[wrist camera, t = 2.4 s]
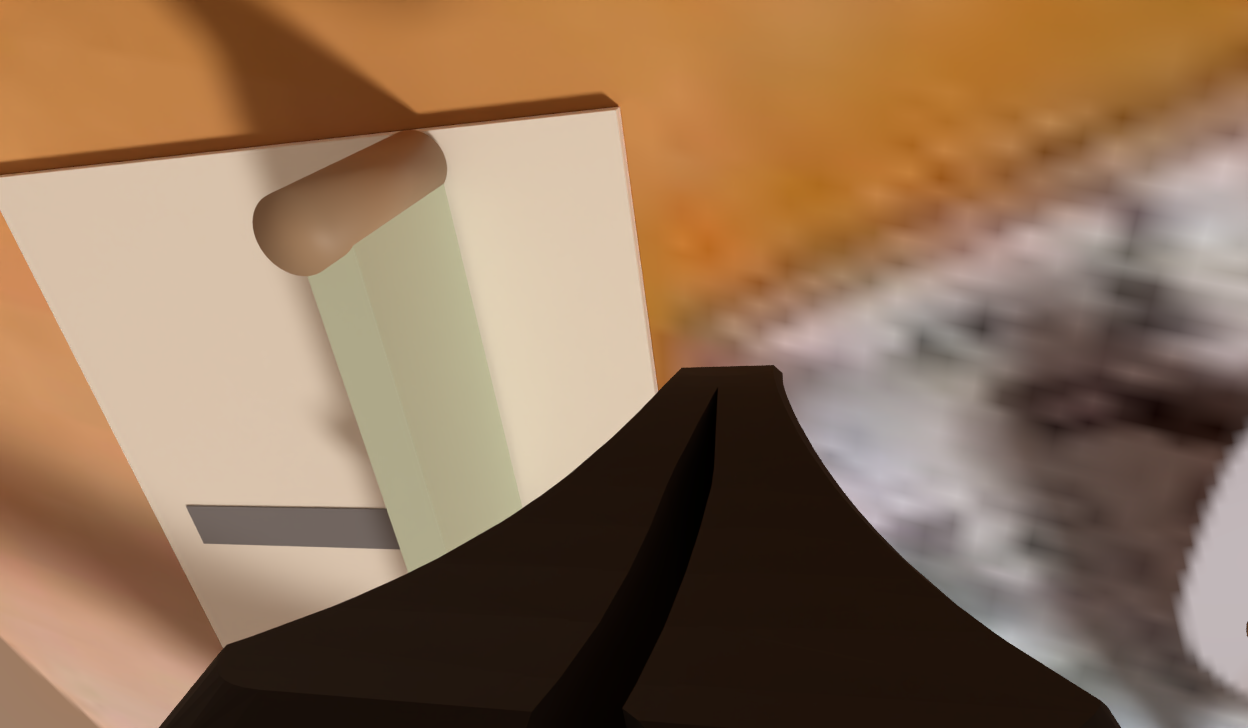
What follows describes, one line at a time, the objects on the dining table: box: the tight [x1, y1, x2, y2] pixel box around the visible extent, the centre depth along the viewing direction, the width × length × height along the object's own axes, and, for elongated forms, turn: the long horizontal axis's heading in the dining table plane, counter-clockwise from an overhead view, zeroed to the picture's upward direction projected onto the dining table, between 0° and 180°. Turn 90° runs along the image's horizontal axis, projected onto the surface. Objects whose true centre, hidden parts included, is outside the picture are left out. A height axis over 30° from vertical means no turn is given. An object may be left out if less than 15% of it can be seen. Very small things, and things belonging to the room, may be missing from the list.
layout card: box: [0, 107, 658, 648], centre depth 25 cm, size 22×18×1 cm
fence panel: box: [252, 130, 522, 573], centre depth 19 cm, size 11×2×5 cm, turn 8°
